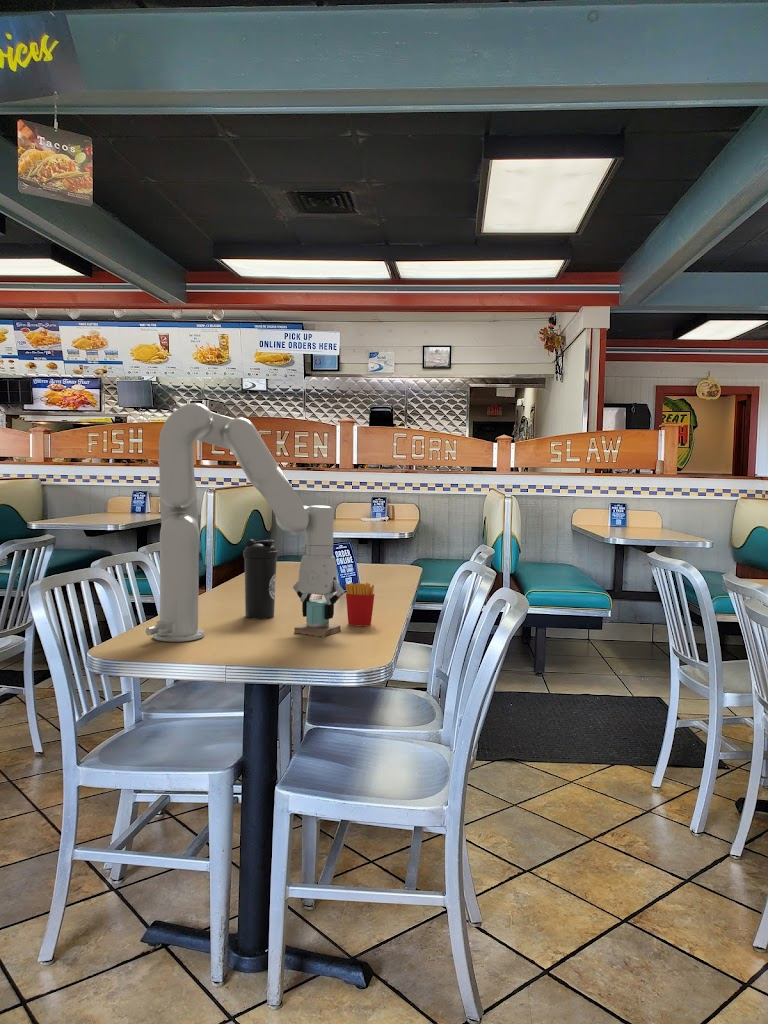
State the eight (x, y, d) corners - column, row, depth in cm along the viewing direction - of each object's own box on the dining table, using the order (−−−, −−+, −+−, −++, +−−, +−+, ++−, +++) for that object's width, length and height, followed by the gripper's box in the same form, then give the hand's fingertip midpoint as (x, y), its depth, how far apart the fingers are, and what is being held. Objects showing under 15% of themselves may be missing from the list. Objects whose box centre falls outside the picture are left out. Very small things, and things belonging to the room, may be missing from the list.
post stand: (322, 637, 186) (323, 610, 186) (294, 633, 190) (294, 607, 190) (340, 631, 194) (340, 605, 194) (312, 627, 198) (313, 602, 198)
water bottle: (273, 619, 207) (274, 541, 206) (239, 619, 208) (240, 540, 207) (279, 613, 217) (280, 538, 217) (246, 612, 218) (247, 538, 217)
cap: (305, 623, 189) (305, 603, 188) (306, 618, 195) (307, 599, 195) (328, 623, 189) (329, 604, 189) (329, 618, 195) (329, 600, 195)
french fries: (374, 623, 205) (375, 582, 204) (372, 626, 201) (373, 584, 201) (345, 622, 206) (346, 581, 206) (342, 624, 202) (343, 583, 202)
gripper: (284, 550, 192) (283, 616, 192) (339, 554, 184) (338, 623, 185) (300, 548, 198) (298, 612, 199) (353, 552, 191) (352, 618, 191)
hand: (317, 616), depth 192 cm, fingers closed on cap, 6 cm apart
